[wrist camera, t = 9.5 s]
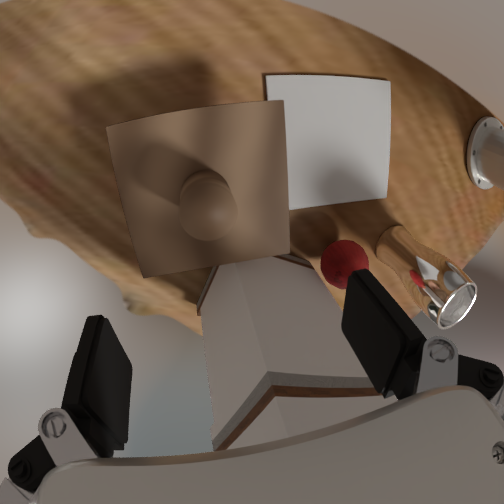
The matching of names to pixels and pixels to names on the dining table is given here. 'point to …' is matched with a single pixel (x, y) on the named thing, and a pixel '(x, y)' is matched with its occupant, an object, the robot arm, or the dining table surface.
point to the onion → (342, 262)
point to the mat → (334, 137)
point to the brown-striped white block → (277, 354)
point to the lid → (204, 185)
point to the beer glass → (427, 276)
